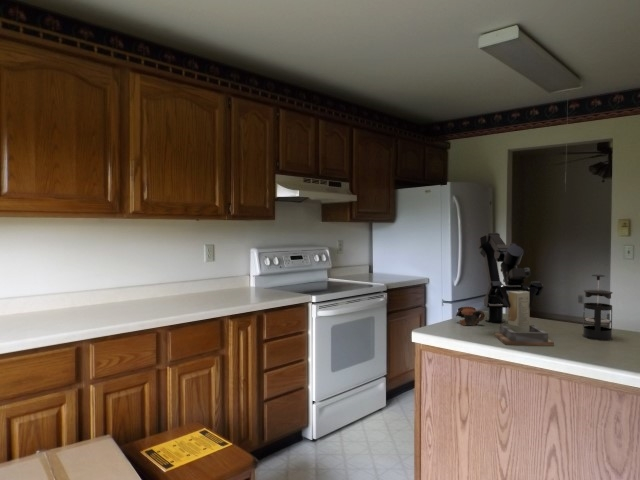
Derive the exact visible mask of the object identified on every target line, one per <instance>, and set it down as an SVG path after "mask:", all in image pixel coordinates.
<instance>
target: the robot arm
mask: <svg viewBox="0 0 640 480" xmlns="http://www.w3.org/2000/svg"><path fill="white" fill-rule="evenodd" d="M477 248H478V250H479V253H480V254H481V256H482V257H483V258H484V262H485V268H486V272H487V273H486V274H487V280H488V287H487V291H486V294H485V297H484V299H483V306H484V307H485V308H488V315H487V316H488V318H486V319H485V322H488V323H489V322H490V323H497V324H502V323H504V322H506V319H503V317H504V308H505V309H509V308H510V302H509V293H508V292H510V291H520V290H521V291H527V292H529V300H530V301H529V309H532V307H533V301H534V298H535V297H539V296H540V295H541V294H542V291H543V289H544V284H543V283H542V281H530V282H529V284H528V285H523V284H524V283H525V279H526V278H530V276H531V275H532V273H531V269H530V267H523V268H521V267H518V266H519V265H520V263H521V260H522V257H523V255H524V252H525V251H524V249H523V248H522V247H521V246H519V245H517V244H516V243H510V244H509V245H507V244H506V243H505V242H504V240H503V239H502V237H501V235H500V233H498V232H488V233H486V235H482V237H480V238H479V239H478V241H477ZM498 263H500V272H501V273H502V277H503V281H501V279H500V273H499V268H498ZM502 282H503V283H502Z"/></svg>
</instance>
